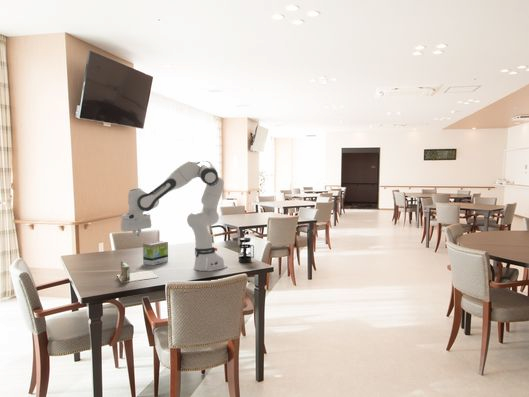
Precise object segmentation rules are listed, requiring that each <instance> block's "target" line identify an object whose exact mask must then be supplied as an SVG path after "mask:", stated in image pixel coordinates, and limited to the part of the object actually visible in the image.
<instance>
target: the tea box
mask: <svg viewBox="0 0 529 397" xmlns="http://www.w3.org/2000/svg"><path fill="white" fill-rule="evenodd" d="M168 244H169V242H168V241H163V240H156V241H151V242H147V243H143V244H142V253H143V254H142V259H143V260H142V263H143V265H147V266H155V265H159V264H163V263H167V262H169V245H168Z"/></svg>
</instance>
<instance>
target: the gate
mask: <svg viewBox="0 0 529 397" xmlns="http://www.w3.org/2000/svg"><path fill="white" fill-rule="evenodd" d="M124 266H126V277H127V281H128V280H130V273H131V272H130V271H131V270H130V265H128V263H127V262H126V261H125V262H122V267H124Z"/></svg>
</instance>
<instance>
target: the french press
mask: <svg viewBox="0 0 529 397" xmlns="http://www.w3.org/2000/svg"><path fill="white" fill-rule="evenodd" d="M241 231H242V232H243V234H244V236H243V237H240V238H238V240H239V242H240V243H242V244H239V245H238V249H242V251H239V252H238V255H239V256H238V263H239V262H240V263H239V264H250V263H252V259H254V258H255V246H254V245H253V244H252V245H251V244H248V243H250V242H251V239H252V238H251V237H245V236H246V232H248V229H242V230H241ZM247 249H252V252H251V251H247ZM251 255H252V256H251Z"/></svg>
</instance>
